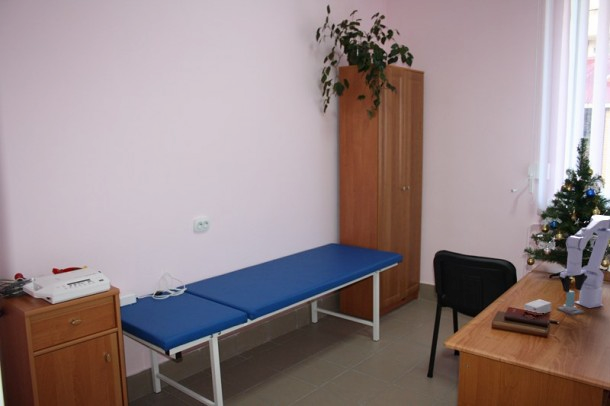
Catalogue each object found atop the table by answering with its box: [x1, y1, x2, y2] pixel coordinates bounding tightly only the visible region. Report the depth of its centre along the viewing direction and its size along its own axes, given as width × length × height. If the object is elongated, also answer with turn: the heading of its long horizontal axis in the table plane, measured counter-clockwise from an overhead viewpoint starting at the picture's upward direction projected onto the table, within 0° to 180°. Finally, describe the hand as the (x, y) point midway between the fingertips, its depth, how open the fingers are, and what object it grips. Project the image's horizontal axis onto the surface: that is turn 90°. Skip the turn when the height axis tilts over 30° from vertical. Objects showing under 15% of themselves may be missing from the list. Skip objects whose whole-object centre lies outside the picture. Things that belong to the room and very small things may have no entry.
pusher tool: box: [562, 289, 577, 311], centre depth 215 cm, size 4×4×8 cm
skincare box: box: [523, 298, 552, 314], centre depth 214 cm, size 6×4×12 cm
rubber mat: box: [556, 305, 585, 316], centre depth 215 cm, size 8×8×1 cm
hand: (572, 290), depth 214 cm, fingers open, 7 cm apart
